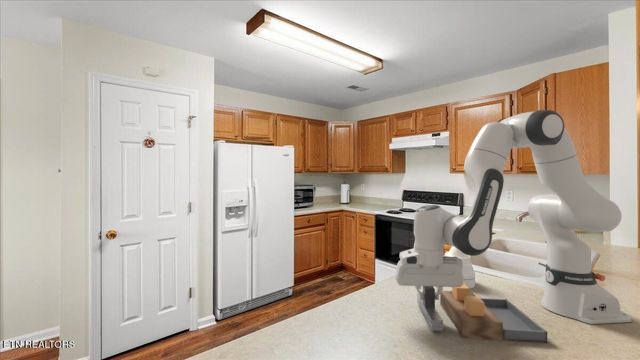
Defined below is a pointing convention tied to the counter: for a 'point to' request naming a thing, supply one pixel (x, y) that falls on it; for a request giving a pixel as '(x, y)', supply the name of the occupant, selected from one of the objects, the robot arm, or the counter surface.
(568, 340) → the counter surface
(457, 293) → the block
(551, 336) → the counter surface
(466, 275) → the honey pot
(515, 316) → the tray
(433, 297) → the grey stick with cube
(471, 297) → the block
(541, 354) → the counter surface
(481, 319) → the ledge
